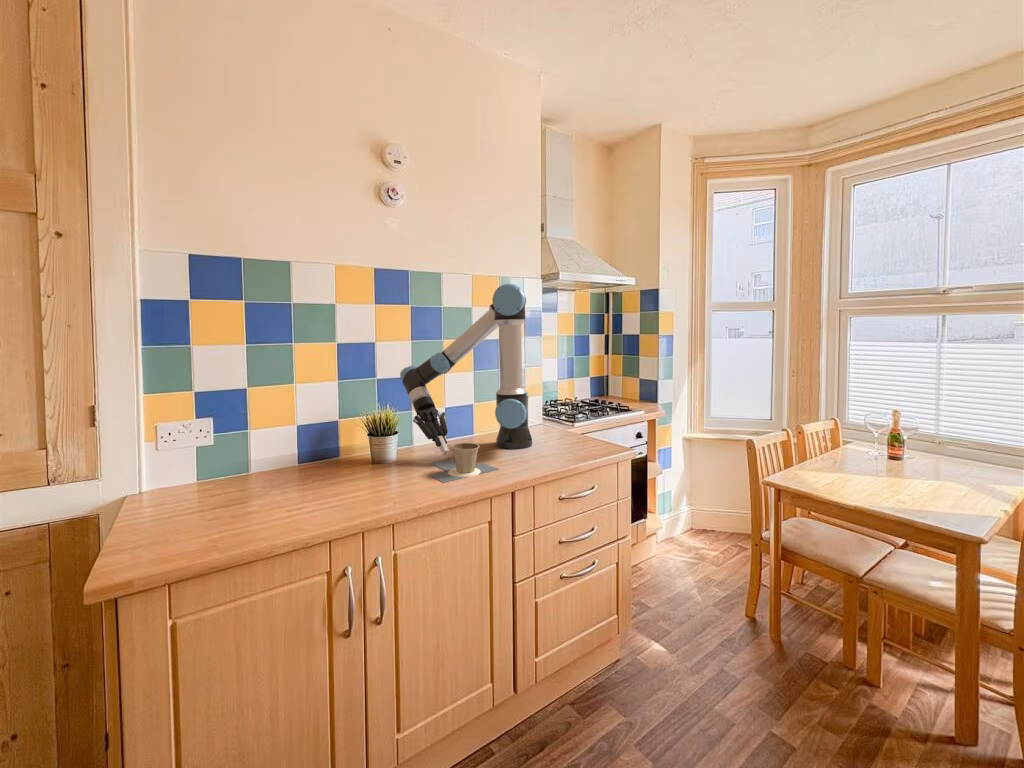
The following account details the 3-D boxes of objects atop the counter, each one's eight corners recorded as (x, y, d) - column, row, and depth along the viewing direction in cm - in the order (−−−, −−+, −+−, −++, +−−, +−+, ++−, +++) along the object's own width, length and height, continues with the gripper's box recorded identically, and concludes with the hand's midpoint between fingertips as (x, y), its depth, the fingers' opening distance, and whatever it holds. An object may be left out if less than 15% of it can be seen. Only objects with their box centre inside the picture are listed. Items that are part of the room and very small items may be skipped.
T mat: (411, 467, 163) (411, 466, 163) (464, 456, 176) (464, 455, 176) (444, 483, 145) (444, 482, 145) (500, 470, 159) (500, 469, 159)
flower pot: (479, 466, 163) (479, 442, 162) (480, 474, 153) (479, 449, 152) (452, 467, 162) (452, 442, 161) (451, 475, 152) (451, 449, 151)
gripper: (433, 405, 183) (457, 455, 172) (403, 409, 174) (426, 461, 163) (440, 393, 178) (465, 443, 167) (409, 396, 170) (433, 450, 159)
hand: (445, 452), depth 165 cm, fingers closed
